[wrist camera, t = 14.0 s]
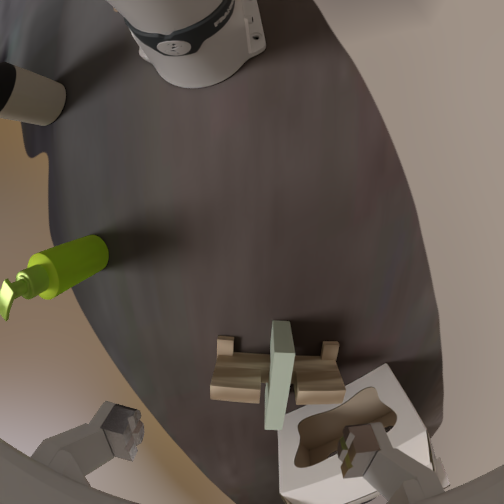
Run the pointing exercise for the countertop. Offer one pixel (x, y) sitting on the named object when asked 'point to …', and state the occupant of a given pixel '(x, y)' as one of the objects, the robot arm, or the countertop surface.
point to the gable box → (331, 430)
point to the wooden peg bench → (257, 371)
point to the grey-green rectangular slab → (279, 374)
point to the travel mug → (29, 96)
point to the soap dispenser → (55, 271)
